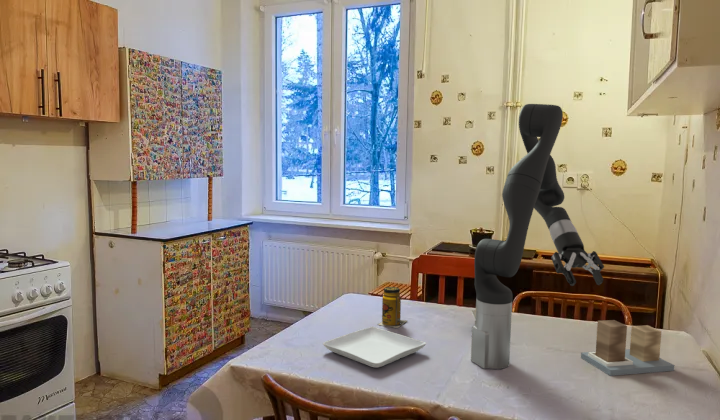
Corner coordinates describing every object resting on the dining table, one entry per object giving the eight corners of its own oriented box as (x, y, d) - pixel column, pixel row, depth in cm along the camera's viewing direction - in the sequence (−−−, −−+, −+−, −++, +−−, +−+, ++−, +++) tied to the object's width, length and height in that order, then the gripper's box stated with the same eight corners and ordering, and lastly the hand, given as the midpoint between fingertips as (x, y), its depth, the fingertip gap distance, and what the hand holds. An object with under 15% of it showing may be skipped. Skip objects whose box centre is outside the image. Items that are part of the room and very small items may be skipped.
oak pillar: (643, 361, 136) (645, 332, 135) (629, 354, 141) (631, 326, 140) (659, 360, 137) (661, 331, 136) (645, 353, 142) (647, 325, 141)
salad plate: (320, 353, 143) (320, 341, 143) (372, 335, 158) (372, 324, 158) (376, 376, 129) (376, 363, 128) (427, 354, 144) (427, 342, 143)
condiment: (377, 325, 168) (377, 289, 166) (387, 318, 175) (388, 283, 174) (397, 328, 164) (398, 292, 163) (407, 321, 172) (408, 286, 170)
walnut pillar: (607, 363, 134) (610, 326, 133) (595, 356, 139) (597, 320, 138) (624, 362, 135) (627, 325, 134) (611, 355, 140) (614, 319, 139)
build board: (610, 375, 130) (610, 367, 130) (580, 357, 142) (581, 349, 142) (674, 370, 134) (674, 362, 134) (640, 353, 146) (641, 345, 145)
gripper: (549, 230, 152) (570, 277, 142) (592, 230, 155) (616, 276, 145) (539, 245, 158) (558, 291, 148) (580, 244, 160) (602, 289, 150)
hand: (587, 283), depth 146 cm, fingers open, 8 cm apart
